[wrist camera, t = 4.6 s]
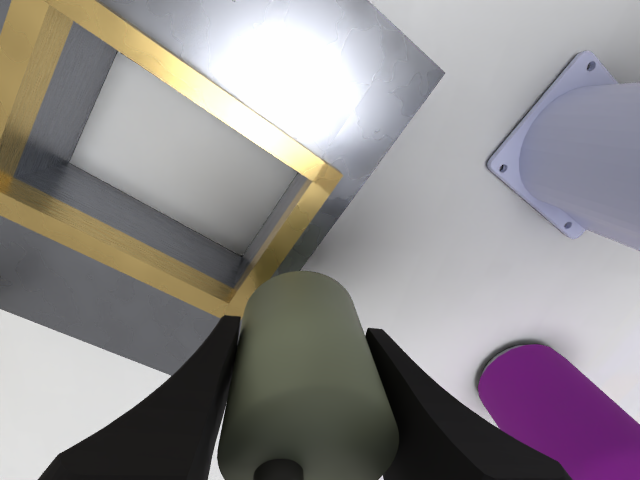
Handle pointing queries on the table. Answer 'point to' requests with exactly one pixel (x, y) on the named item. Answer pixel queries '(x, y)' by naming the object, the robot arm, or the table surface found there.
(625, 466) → the beverage can
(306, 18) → the grey panel with frame
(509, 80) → the table surface
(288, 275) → the spout can
